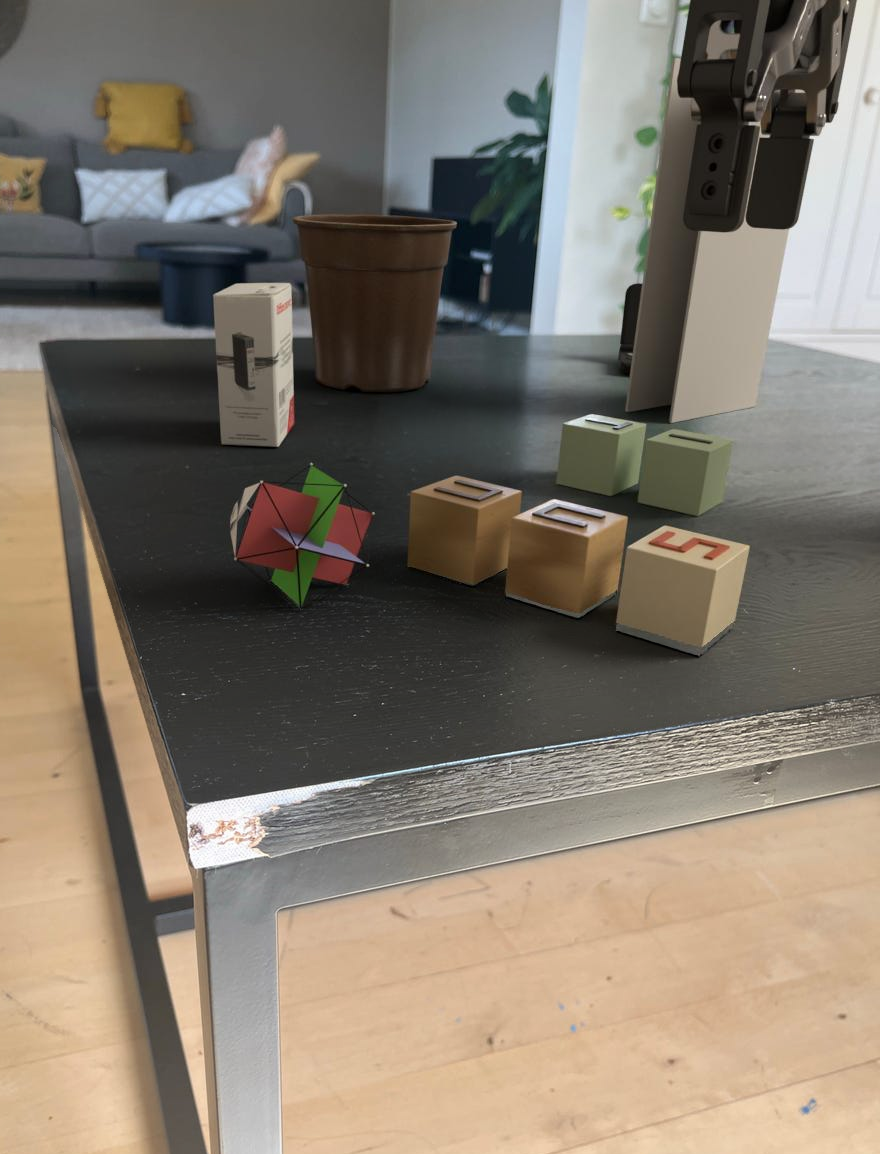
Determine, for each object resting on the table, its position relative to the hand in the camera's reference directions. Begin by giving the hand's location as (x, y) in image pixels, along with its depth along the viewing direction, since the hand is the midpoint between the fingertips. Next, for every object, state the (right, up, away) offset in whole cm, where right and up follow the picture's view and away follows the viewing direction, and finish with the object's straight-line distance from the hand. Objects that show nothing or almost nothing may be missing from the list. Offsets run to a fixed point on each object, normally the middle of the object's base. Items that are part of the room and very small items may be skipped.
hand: (742, 229), depth 42 cm
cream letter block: (-1, -17, +8) cm, 19 cm away
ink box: (-27, 0, +41) cm, 49 cm away
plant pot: (-18, +10, +63) cm, 66 cm away
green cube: (0, -6, +31) cm, 32 cm away
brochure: (+15, +6, +57) cm, 59 cm away
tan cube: (-11, -13, +15) cm, 23 cm away
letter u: (-6, -15, +11) cm, 20 cm away
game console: (+20, +15, +77) cm, 81 cm away
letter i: (+5, -8, +28) cm, 29 cm away
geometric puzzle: (-20, -15, +10) cm, 27 cm away
